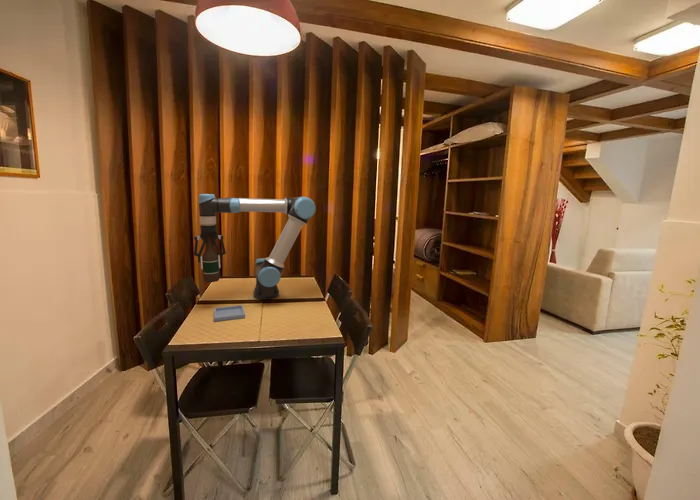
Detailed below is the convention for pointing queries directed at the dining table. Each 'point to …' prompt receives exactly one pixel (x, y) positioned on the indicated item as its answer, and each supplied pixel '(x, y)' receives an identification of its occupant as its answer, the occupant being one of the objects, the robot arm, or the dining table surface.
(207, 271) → the beer bottle
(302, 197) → the robot arm
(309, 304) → the dining table surface
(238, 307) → the tray
